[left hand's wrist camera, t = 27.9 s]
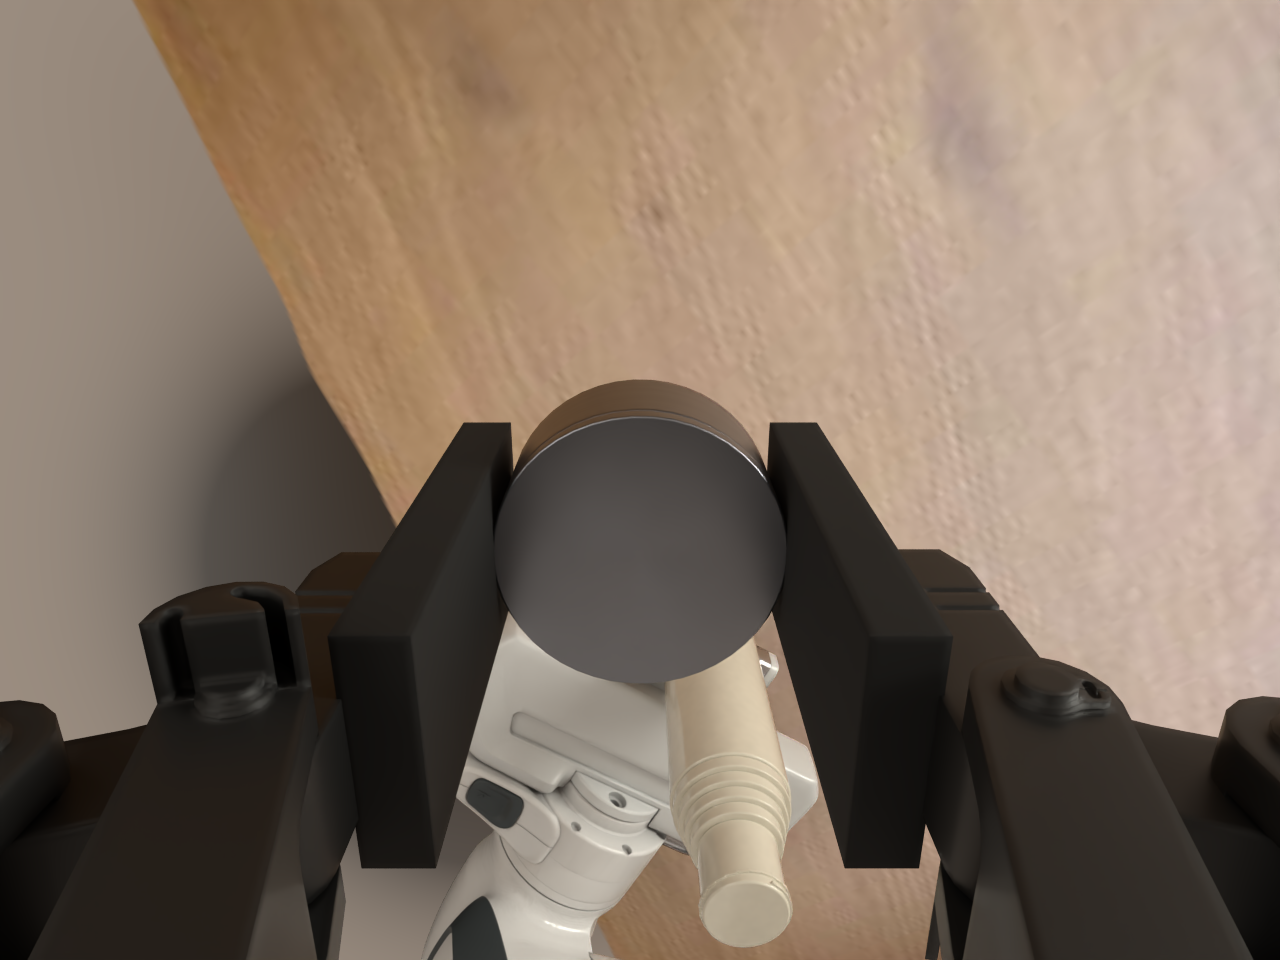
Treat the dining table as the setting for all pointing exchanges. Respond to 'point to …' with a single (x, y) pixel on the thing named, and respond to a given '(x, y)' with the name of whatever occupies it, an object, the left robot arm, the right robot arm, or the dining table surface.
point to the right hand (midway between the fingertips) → (716, 629)
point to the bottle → (731, 797)
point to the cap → (640, 534)
